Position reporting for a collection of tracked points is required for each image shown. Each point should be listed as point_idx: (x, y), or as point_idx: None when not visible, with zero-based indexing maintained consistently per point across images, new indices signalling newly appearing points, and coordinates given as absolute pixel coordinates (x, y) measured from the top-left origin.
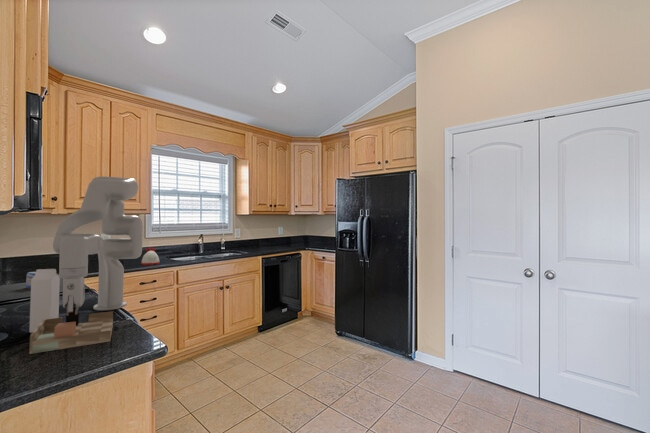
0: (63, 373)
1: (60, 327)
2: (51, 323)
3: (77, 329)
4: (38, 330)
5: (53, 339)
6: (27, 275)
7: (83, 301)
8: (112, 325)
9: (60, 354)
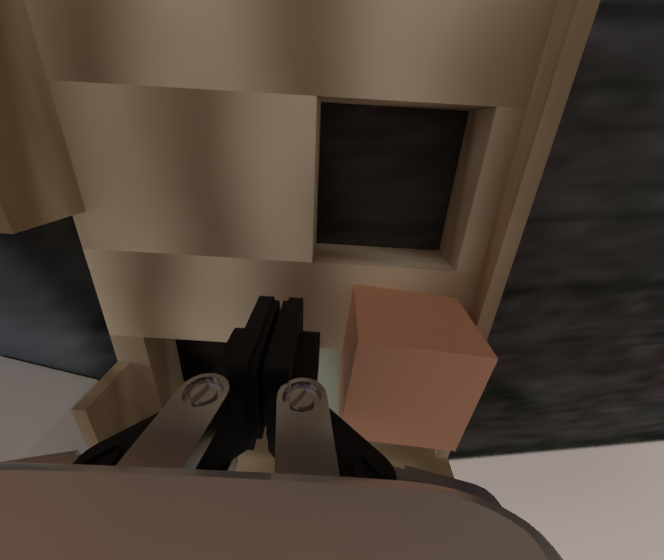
0: None
1: (465, 420)
2: (125, 424)
3: (258, 277)
4: None
5: None
6: None
7: (164, 516)
8: None
9: (544, 312)
